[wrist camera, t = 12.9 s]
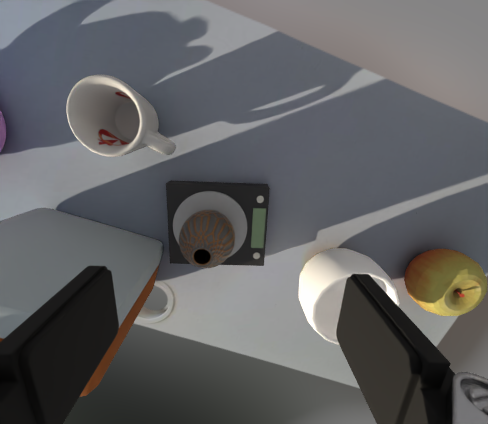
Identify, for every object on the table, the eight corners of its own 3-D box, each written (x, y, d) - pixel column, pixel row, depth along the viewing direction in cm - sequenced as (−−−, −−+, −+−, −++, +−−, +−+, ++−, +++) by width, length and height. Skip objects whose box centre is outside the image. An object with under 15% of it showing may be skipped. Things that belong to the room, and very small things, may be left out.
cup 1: (195, 123, 33) (182, 118, 25) (169, 173, 35) (150, 184, 27) (119, 76, 31) (81, 56, 23) (96, 132, 33) (53, 131, 25)
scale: (170, 180, 35) (164, 184, 32) (267, 184, 35) (270, 188, 33) (173, 255, 38) (168, 265, 35) (262, 258, 39) (264, 267, 36)
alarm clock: (36, 255, 38) (-183, 383, 18) (42, 203, 35) (-201, 285, 16) (154, 287, 40) (73, 432, 20) (167, 240, 38) (90, 352, 18)
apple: (400, 241, 39) (441, 266, 31) (460, 240, 39) (515, 265, 31) (389, 294, 41) (424, 329, 34) (445, 293, 42) (492, 328, 34)
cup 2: (301, 230, 38) (322, 260, 28) (376, 243, 39) (419, 276, 29) (282, 297, 41) (296, 343, 32) (351, 307, 42) (384, 355, 33)
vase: (180, 209, 33) (160, 233, 25) (229, 199, 33) (227, 220, 24) (192, 254, 35) (178, 290, 27) (239, 245, 35) (240, 279, 26)
